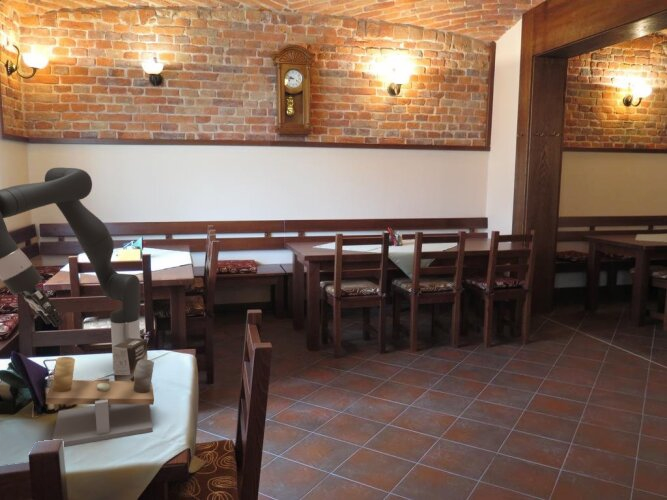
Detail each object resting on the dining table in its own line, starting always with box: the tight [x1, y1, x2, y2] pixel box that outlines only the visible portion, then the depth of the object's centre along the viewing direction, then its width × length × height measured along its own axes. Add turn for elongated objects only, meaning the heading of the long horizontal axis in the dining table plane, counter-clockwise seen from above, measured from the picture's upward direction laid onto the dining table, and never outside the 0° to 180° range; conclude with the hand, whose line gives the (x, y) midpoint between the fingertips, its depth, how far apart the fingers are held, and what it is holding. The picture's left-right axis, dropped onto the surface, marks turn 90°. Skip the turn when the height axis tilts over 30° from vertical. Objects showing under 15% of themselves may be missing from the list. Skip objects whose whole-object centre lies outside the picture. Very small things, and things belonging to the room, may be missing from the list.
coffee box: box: [112, 338, 149, 382], centre depth 162 cm, size 9×6×16 cm
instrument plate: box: [45, 356, 155, 405], centre depth 142 cm, size 26×13×10 cm, turn 112°
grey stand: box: [51, 376, 153, 447], centre depth 143 cm, size 24×19×10 cm
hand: (55, 323), depth 134 cm, fingers open, 8 cm apart
